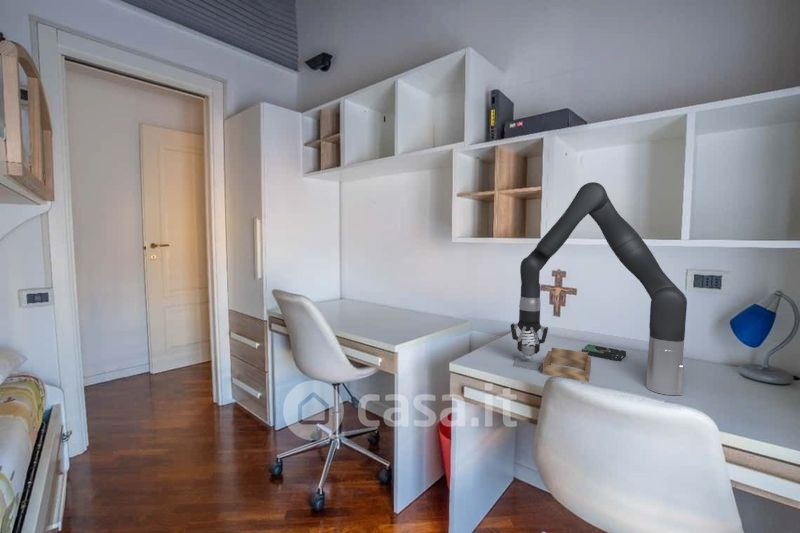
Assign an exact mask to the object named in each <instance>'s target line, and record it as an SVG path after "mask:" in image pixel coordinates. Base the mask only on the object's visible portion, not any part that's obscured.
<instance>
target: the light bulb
mask: <svg viewBox="0 0 800 533" xmlns="http://www.w3.org/2000/svg"><path fill="white" fill-rule="evenodd" d="M523 333H531V330H530V331H523ZM522 336H523V337H521V338H522V340H521V341H522V345H521V351H520V352H521V354H523V355H524V359H527V360H531V359H532V355H533V356H535V344H536V342H535V339H534V337H533V336H534V334H522Z"/></svg>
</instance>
